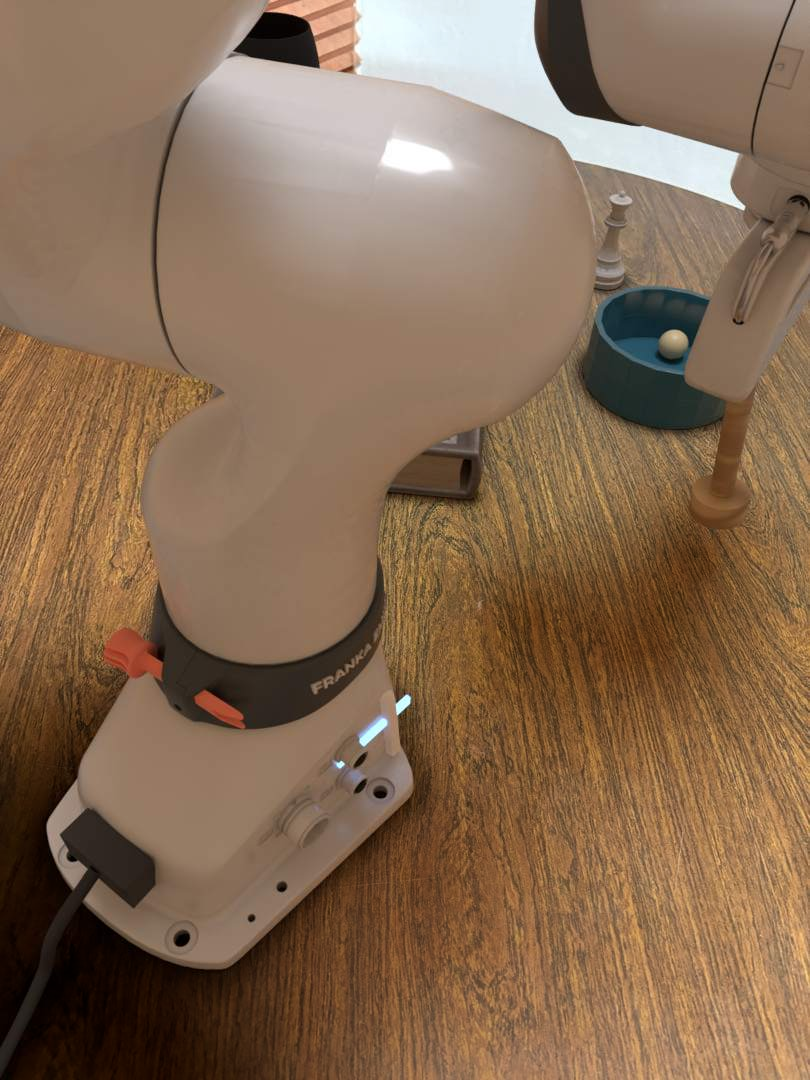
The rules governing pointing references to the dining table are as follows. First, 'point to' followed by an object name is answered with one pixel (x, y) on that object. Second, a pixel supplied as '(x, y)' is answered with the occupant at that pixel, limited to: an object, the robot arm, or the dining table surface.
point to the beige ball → (673, 344)
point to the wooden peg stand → (725, 474)
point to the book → (440, 467)
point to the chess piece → (612, 245)
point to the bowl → (648, 358)
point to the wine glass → (281, 40)
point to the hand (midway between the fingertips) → (738, 379)
